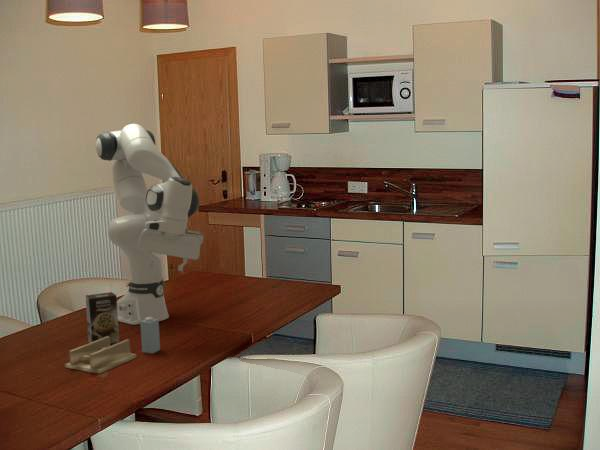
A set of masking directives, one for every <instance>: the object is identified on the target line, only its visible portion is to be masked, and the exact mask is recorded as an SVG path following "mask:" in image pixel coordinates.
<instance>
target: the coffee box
mask: <svg viewBox="0 0 600 450" xmlns="http://www.w3.org/2000/svg"><path fill="white" fill-rule="evenodd" d="M117 301H118V300H117V295H116V294H115V293H114V292H112V291H110V292H103V293H101V292H100V293H95V294H88V295H85V307H86V309H85V310H86V323H87V325H86V326H87V340H88V341H87V342H88V343H91V342H94V341H96V340H99V339H101V338H104V337H106V336H108V337H110V345H111V344H116V343H119V342H120V333H119V321H118V314H117Z"/></svg>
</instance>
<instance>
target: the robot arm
mask: <svg viewBox="0 0 600 450" xmlns="http://www.w3.org/2000/svg"><path fill="white" fill-rule="evenodd" d="M95 150H96V153H97V156H98V157H99V158H100V159H101V160H103V161H109V162H111V161H114V162H113V164H112V167H111V169H112V171H111V172H112V181H113V185H114V188H115V191H116V194H117V198H118V202H119V205H120V206H121V207H122V209H124V210H125V211H127V212H130V213H131V214H127V215H126V214H125V215H122V216H119V217H116V218H113V219H112V220H111V221H110V222H109V224H108V226H107V235H108V238H109V240H110V241H111V243H112V244H114V245H115V246H116V247H118V248H119V249H121V250H122V252H123V253H124V254H125V256H126V258H127V260H128V263H129V269H130V276H131V281H130V282H128V283H125V285H126V286H125V287H126V288H128V291H127V292H126V293H125V294H124V295H123V296H121V297H120V298H119V299H118V300H117V314H118V322H120V323H125V324H127V325H131V326H132V325H133V326H134V325H135V326H136V325H140V321H143V320H145V318H147V317H153V319H158V322H161V321H165V320H167V319H169V317H170V314H169V313H168V312H169V311H168V308H167V305H166V301H165V300H166V299H165V294H164V293H165V282H164V279H163V269H162V261H161V258H160V257H159V256H158V255H157V254H159V255H164V256H171V257H176V258H182V261H183V262H182V263H181V264H178V266H177V271H178V272H183V268H184V266H186V265H187V263H188V261H189V260H194V261H197V260H198V259H199V258H200V253H201V252H200V251H201V246H202V244H203V243H204V235H203V233H201V232H200V231H196V230H195V231H194V230H191V229H190V230H189V229H187V227H188V222H189V218H190V217H192V216H193V215H194V214H195V213H196V212H197V211H198V210H199V207H200V198H199V195H198V193H197V191H196V190H195V189H194V188H193V184H192V182H190V180H188V179H185V178H184V177H183V176H182V174H181V173H180V171H179V170H178V169H177V168H176V166H175V165H174V163H172V161H170V160H169V159H168V158H167V157H166V156H165V155H164V154H163V153H162V152H161V151H160V150H159V148H158V147H157V146H156V138H155V136H154V133H153V132H152V131H151V130H148V129H145V128H144V127H143V126H142V125H140V124H138V123H131V124H127V125H125V126H124V127H123V128H122V129H120V130H114V131H104V132H101V133H99V134H98V135H97V137H96V140H95ZM143 174H146V175H149V176H152V177H155V178H156V179H158V180H161V181H163V182H162V183H158V184H153V185H151V186H150V187H149V188H147V184H146V181H145V178H144V176H143ZM188 259H189V260H188Z"/></svg>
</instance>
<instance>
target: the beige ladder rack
mask: <svg viewBox="0 0 600 450" xmlns="http://www.w3.org/2000/svg"><path fill="white" fill-rule="evenodd" d="M68 353H69V362H67V363H65V364H64V368H68V369H72V370H78V371H83V372H88V373H94V374H102V373H104V372H107V371H109V370H112V369H114V368H116V367H118V366H121V365H123V364H125V363H127V362H130V361H131V360H134V359H136V358H137V354H136V353H132V351H131V340H130V339H128V338H126V339H124V340H121V341H119V342H117V343H113V344H112V345H111V344H110V337H108V336H106V337H104V338H101V339H99V340H96V341H94V342H91V343H89V342H88V343H86V344H84V345H81V346H78V347H76V348H74V349H70V350H68Z"/></svg>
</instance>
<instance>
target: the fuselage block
mask: <svg viewBox="0 0 600 450" xmlns="http://www.w3.org/2000/svg"><path fill="white" fill-rule="evenodd" d="M159 323H160V321H158V319H153V317H147V318H145V320H143V321H140V324H139V326H140V337H141V338H140V340H141V341H140V342H141V352H142V353H144V354H145V353H146V354H154V353H157V352H158V351H160V350H161V340H160V324H159Z"/></svg>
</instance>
